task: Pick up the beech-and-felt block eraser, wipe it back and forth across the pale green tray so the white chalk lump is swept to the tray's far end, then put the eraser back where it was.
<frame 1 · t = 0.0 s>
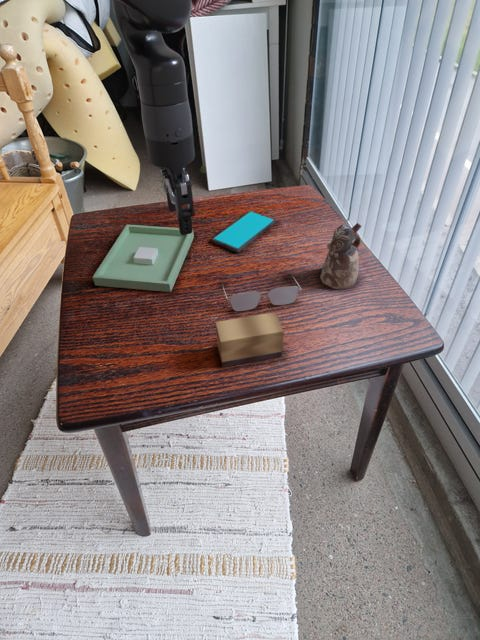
hand: (180, 221, 77), 12 cm above the table, tool pointing down, fingers open, 8 cm apart
eyeglasses: (259, 294, 81), on the table
eraser: (249, 351, 70), on the table
smartphone: (244, 232, 97), on the table
tray: (147, 259, 90), on the table
figurine: (338, 278, 84), on the table
chalk lump: (146, 258, 89), point 1 cm above the table, touching tray
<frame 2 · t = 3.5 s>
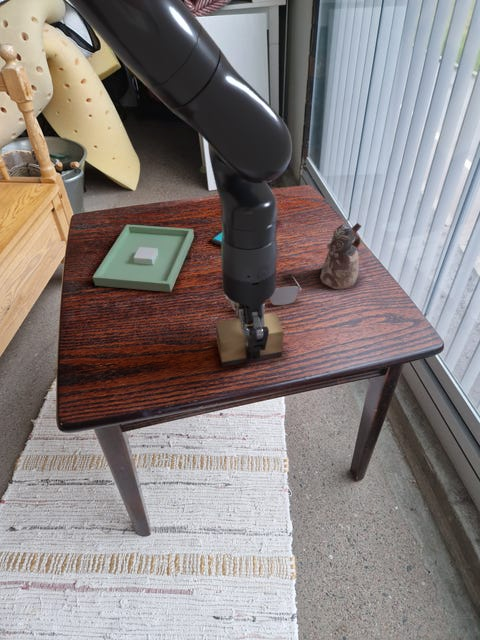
hand: (249, 346, 69), 1 cm above the table, tool pointing down, fingers closed on eraser, 4 cm apart
eraser: (249, 351, 70), on the table, touching gripper
everything else where it was.
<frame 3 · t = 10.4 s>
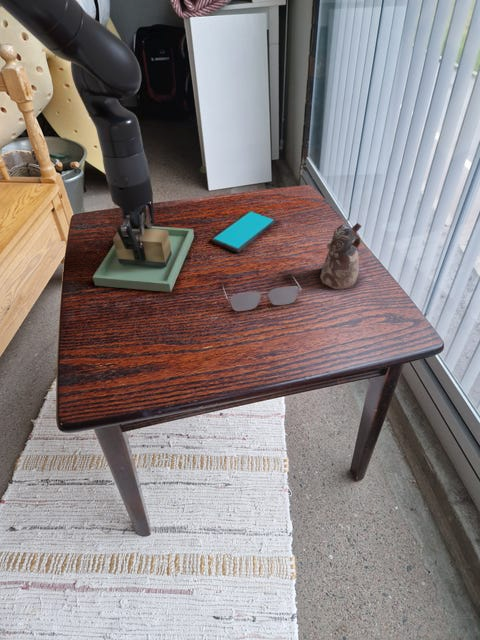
hand: (144, 253, 87), 2 cm above the table, tool pointing down, fingers closed on eraser, 4 cm apart
eraser: (145, 259, 88), point 1 cm above the table, touching gripper
chalk lump: (151, 249, 91), point 1 cm above the table, touching tray
everything else where it was.
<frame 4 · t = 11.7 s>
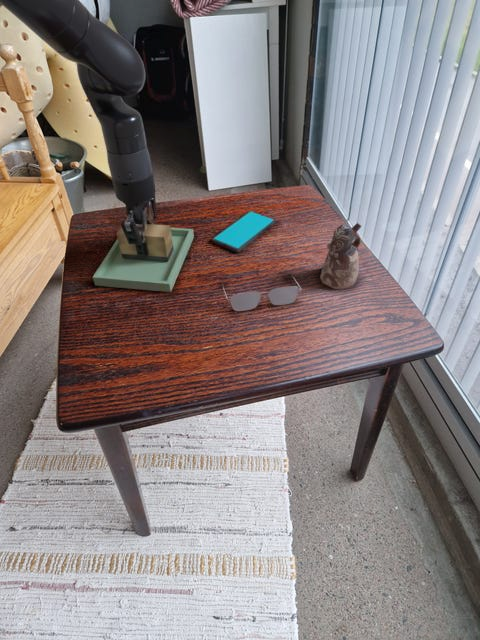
hand: (147, 248, 89), 2 cm above the table, tool pointing down, fingers closed on eraser, 4 cm apart
eraser: (148, 253, 90), point 1 cm above the table, touching gripper
chalk lump: (155, 238, 93), point 1 cm above the table, tilted 18°, touching tray
everything else where it was.
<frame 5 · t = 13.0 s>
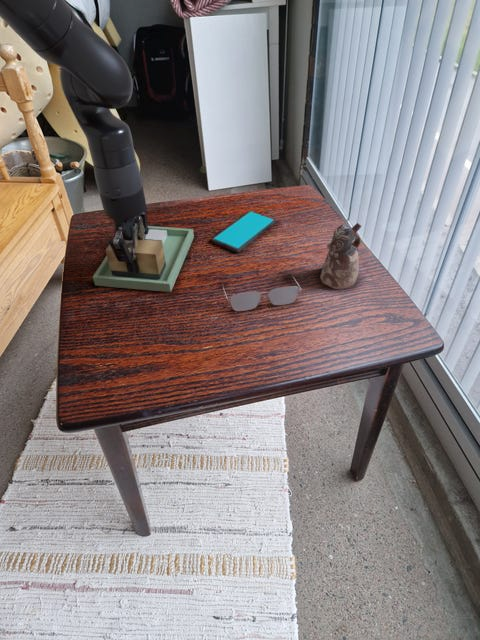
hand: (138, 265, 85), 2 cm above the table, tool pointing down, fingers closed on eraser, 4 cm apart
eraser: (139, 270, 86), point 1 cm above the table, touching gripper
chalk lump: (156, 240, 94), point 1 cm above the table, touching tray
everything else where it was.
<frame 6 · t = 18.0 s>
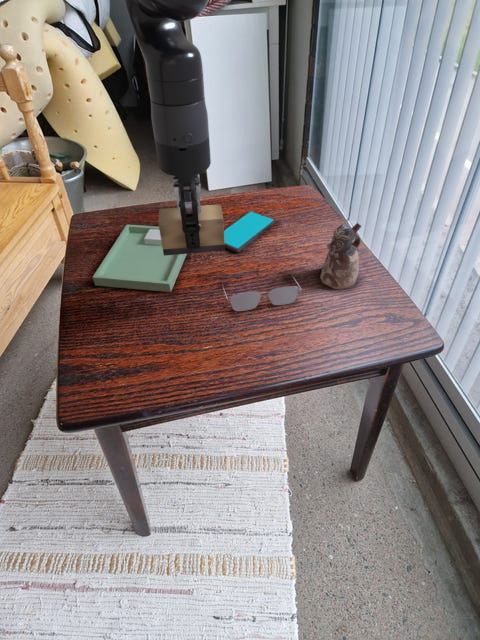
hand: (192, 238, 69), 14 cm above the table, tool pointing down, fingers closed on eraser, 4 cm apart
eraser: (193, 245, 70), point 13 cm above the table, touching gripper
everything else where it was.
when the fingers open (1 cm above the table, at t = 22.5 s): eraser stays where it is, on the table.
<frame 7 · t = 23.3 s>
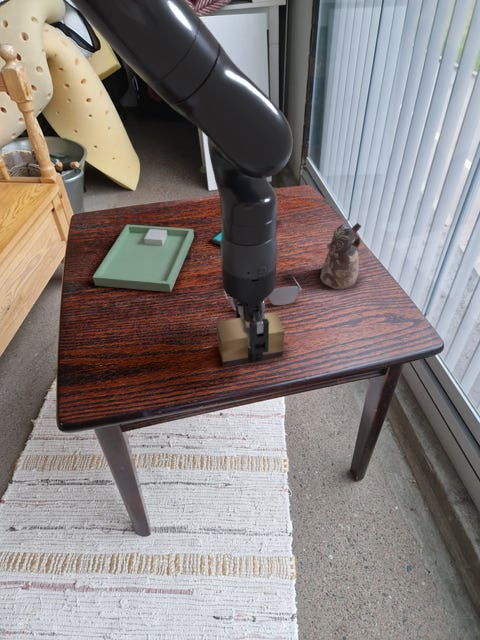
hand: (248, 340, 68), 3 cm above the table, tool pointing down, fingers open, 8 cm apart
eraser: (250, 351, 70), on the table
everything else where it was.
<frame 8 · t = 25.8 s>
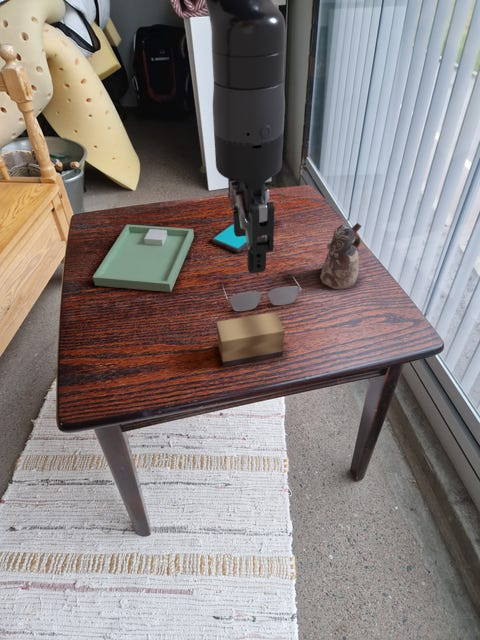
hand: (248, 252, 56), 20 cm above the table, tool pointing down, fingers open, 8 cm apart
nothing on the table moved.
at the end: chalk lump inside the target area in the tray (0.0 cm from its centre), point 0.6 cm above the tray's base; eraser inside the target area (0.1 cm from its centre), on the table; the gripper is holding nothing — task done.
